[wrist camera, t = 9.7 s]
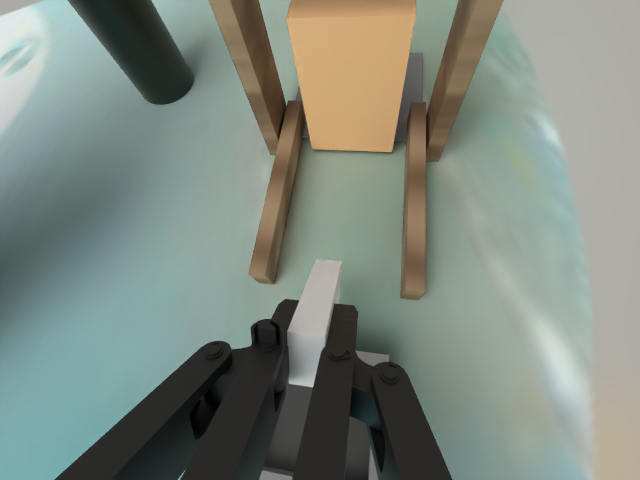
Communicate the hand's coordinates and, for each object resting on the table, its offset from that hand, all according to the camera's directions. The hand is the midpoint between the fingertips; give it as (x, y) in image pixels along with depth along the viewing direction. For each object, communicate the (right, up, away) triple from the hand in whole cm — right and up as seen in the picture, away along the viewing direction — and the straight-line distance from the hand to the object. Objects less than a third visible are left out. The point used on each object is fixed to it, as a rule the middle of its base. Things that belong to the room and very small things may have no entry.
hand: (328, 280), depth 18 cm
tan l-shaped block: (+3, +16, +11) cm, 19 cm away
